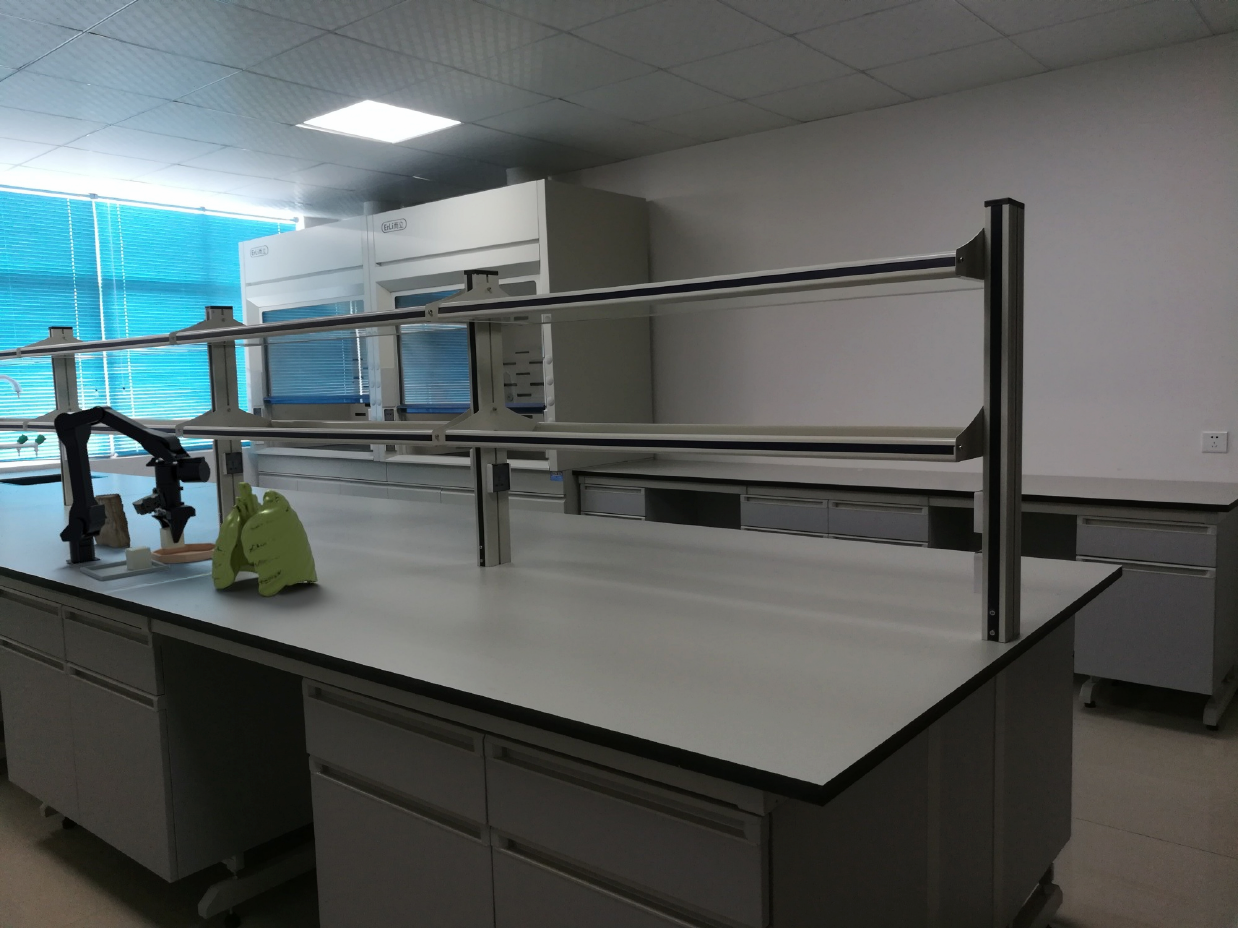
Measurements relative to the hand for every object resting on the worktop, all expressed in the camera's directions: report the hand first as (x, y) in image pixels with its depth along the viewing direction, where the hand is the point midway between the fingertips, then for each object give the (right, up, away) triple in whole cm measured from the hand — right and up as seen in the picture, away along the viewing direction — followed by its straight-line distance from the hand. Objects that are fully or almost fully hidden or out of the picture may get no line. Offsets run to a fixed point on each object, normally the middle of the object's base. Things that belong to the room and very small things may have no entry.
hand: (172, 541), depth 235 cm
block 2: (0, -1, 0) cm, 1 cm away
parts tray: (-5, -6, -13) cm, 15 cm away
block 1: (-3, -6, -10) cm, 12 cm away
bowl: (+3, -5, +3) cm, 6 cm away
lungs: (+37, -8, -32) cm, 49 cm away
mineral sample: (-31, -3, +26) cm, 40 cm away
